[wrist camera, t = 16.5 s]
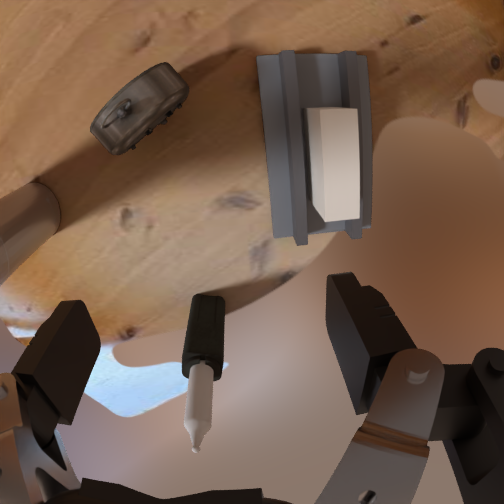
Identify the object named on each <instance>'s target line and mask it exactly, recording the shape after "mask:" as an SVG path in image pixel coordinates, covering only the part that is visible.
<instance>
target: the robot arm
mask: <svg viewBox="0 0 504 504" xmlns="http://www.w3.org/2000/svg"><path fill="white" fill-rule="evenodd" d="M59 224H60V208H59V204H58V202H57V199H56V198H55V196H54V194H53V193H52V192H51V190H50V189H48V188H47V187H46V186H44V185H42V184H40V183H29V184H27V185H25V186H23V187H21V188H19V189H17V190H15V191H13V192H12V193H10V194H8V195H6V196H4V197H3V198H1V199H0V286H1V285H2V284H3V283H4V282H5V281H6V280H7V278H8V277H9V276H10V275H11V274H12V273H13V272H14V271H15V270H16V269H17V268H18V267H19V266H20V265H21V264H22V263H23V262H24V261H25V260H27V259H28V258H29V257H30V256H31V255H32V254H33V253H34V252H35V251H36V250H37V249H38V248H39V247H40V246H41V245H43V244H44V243H45V242H46V241H47V240H48V239H49V238H50V237H51V236H52V235H53V234H55V232H56V231H57V229H58V227H59ZM326 326H327V331H328V334H329V338H330V340H331V343H332V346H333V349H334V351H335V354H336V357H337V360H338V363H339V366H340V368H341V371H342V374H343V377H344V379H345V383H346V386H347V388H348V392H349V394H350V398H351V400H352V403H353V406H354V409H355V412H356V415H359V414H364V413H368V414H367V416H366V418H365V421H364V422H363V424H362V426H361V427H359V429H358V430H357V432H356V433H355V435H354V437H353V439H352V441H351V443H350V444H349V446H348V448H347V450H346V452H345V453H344V456H343V457H342V459H341V461H340V463H339V464H338V466H337V468H336V470H335V471H334V473H333V475H332V476H331V478H330V480H329V481H328V483H327V484H326V486H325V488H324V489H323V491H322V493H321V494H320V496H319V497H318V499H317V500H316V502H315V503H314V504H411V502H412V500H413V498H414V495H415V493H416V490H417V488H418V485H419V482H420V479H421V477H422V474H423V471H424V468H425V466H426V463H427V460H428V456H429V451H430V448H429V446H427V443H428V441H439V440H442V441H443V444H444V447H445V449H446V452H447V455H448V457H449V460H450V463H451V466H452V468H453V471H454V474H455V477H456V480H457V483H458V486H459V489H460V492H461V496H462V498H463V502H464V504H504V350H501V349H498V348H486V349H483V350H481V351H480V352H478V353H477V354H476V356H475V358H474V360H473V362H472V364H455V365H454V364H452V365H448V364H442V362H441V361H440V359H439V358H438V357H437V356H435V355H434V354H432V353H431V352H429V351H426V350H423V349H417V347H416V345H415V344H414V342H413V341H412V339H411V337H410V336H409V334H408V333H407V331H406V329H405V328H404V326H403V325H402V323H401V322H400V320H399V318H398V317H397V316H395V312H394V311H393V309H392V308H391V307H390V306H389V303H388V302H387V300H386V299H385V297H384V296H383V294H382V293H380V292H379V291H377V290H376V289H374V288H373V287H371V286H362V287H361V285H360V283H359V282H358V280H357V279H356V277H355V275H354V274H353V273H352V272H346V273H339V274H331V275H328V276H327V288H326ZM29 344H30V345H28V346H27V348H26V349H25V351H24V353H23V354H22V356H21V357H20V359H19V361H18V362H17V364H16V366H15V367H14V369H13V371H12V372H11V374H10V373H1V374H0V504H292V503H289V502H286V501H281V500H277V499H271V498H264V496H263V493H262V489H261V488H256V489H241V490H212V491H207V492H202V493H198V494H193V495H187V496H182V497H176V498H170V499H159V498H155V497H153V496H150V495H147V494H144V493H141V492H138V491H135V490H133V489H131V488H128V487H125V486H123V485H120V484H115V483H109V482H103V481H97V480H92V479H87V478H82V483H80V482H79V480H78V479H77V477H76V475H75V473H74V471H73V468H72V466H71V463H70V461H69V458H68V455H67V453H66V450H65V447H64V445H63V442H62V439H61V436H60V434H59V432H58V431H57V430H56V429H55V428H56V426H57V423H59V424H65V425H71V424H72V422H73V419H74V416H75V413H76V410H77V408H78V405H79V402H80V400H81V397H82V395H83V392H84V389H85V387H86V384H87V382H88V379H89V377H90V374H91V372H92V369H93V367H94V365H95V362H96V360H97V357H98V355H99V353H100V348H101V342H100V337H99V334H98V332H97V330H96V328H95V326H94V323H93V321H92V319H91V317H90V315H89V312H88V310H87V308H86V305H85V304H84V302H83V301H81V300H70V301H61V302H60V303H59V304H58V306H57V307H56V309H55V310H54V312H53V313H52V315H51V316H50V318H48V319H47V320H46V321H45V322H44V323H43V324H42V325H41V326H40V327H39V329H38V330H37V332H36V334H35V337H33V338H32V340H31V341H30V343H29Z"/></svg>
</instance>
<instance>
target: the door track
mask: <svg viewBox="0 0 504 504" xmlns="http://www.w3.org/2000/svg"><path fill="white" fill-rule="evenodd" d="M256 62H257V71H258V80H259V89H260V98H261V108H262V117H263V127H264V137H265V147H266V158H267V168H268V179H269V190H270V201H271V213H272V225H273V236H274V238H282V237H291V236H293V237H294V239H295V242H296V244H297V246H299V245H307V244H308V235H309V234H318V233H327V232H336V231H346V232H347V234H348V235H349V236H350V238H351V239H360V238H362V229H363V228H371V213H372V123H371V103H370V89H369V76H368V65H367V56H365V55H357V54H356V51H343V52H341V53H339V54H295V53H294V50H284V51H281V52H280V53H279V54H278V55H263V56H256ZM320 107H340V108H354V109H357V113H358V131H359V160H360V217H359V219H349V220H340V221H330V222H325V221H324V220H323V218H322V217H321V215H320V214H319V213H318V211H317V210H316V209H315V207H314V206H313V204H312V203H311V202H310V200H309V185H308V169H307V154H306V140H305V127H304V116H303V108H320Z"/></svg>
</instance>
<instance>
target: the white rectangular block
mask: <svg viewBox="0 0 504 504" xmlns="http://www.w3.org/2000/svg"><path fill="white" fill-rule="evenodd" d="M303 116H304V127H305V140H306V154H307V169H308V185H309V200H310V202H311V203H312V204H313V206H314V207H315V209H316V210H317V211H318V213H319V214H320V215H321V217H322V218H323V220H324V221H325V222H330V221H340V220H349V219H359V217H360V160H359V131H358V113H357V109H354V108H340V107H320V108H303Z"/></svg>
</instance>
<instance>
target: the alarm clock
mask: <svg viewBox="0 0 504 504" xmlns="http://www.w3.org/2000/svg"><path fill="white" fill-rule="evenodd" d="M188 94H189V86H188V84H187V83H186V82H185V81H184V80H183V79H182V77H181V76H180V75H179V74H178V73H177V72H176V71H175V70H174V69H173V67H172V66H171V65H170V64H169V63H167V62H164V63H160V64H157V65H155V66H153V67H151V68H149V69H148V70H146V71H144V72H143V73H141V74H140V75H139V76H137V77H136V78H134V79H133V80H131V81H130V82H129V83H128V84H126V85H125V86H124V87H123V88H122V89H121V90H120V91H118V92H117V93H116V94H115V95H114V96H113V97H112V98H111V99H110V100H109V101H108V102H107V104H106V105H105V106H104V107H103V108H102V109H101V111H100V112H99V113H98V114H97V116H96V117H95V119H94V120H93V122H92V124H91V127H90V132H91V133H92V134H93V135H94V136H95V137H96V138H97V139H98V140H99V141H100V143H101V144H102V145H103V146H104V147H105V148H106V149H107V150H108V151H109V152H110V153H111V154H112V155H121V154H123V153H125V152H127V151H128V150H129V149H130V148H132V150H134V149H135V148H136V146H135V144H137V143H138V142H139V141H140V140H141V139H142V138H143V137H145V136H146V135H149V134H150V133H152V132H153V131H152V130H153V129H154V128H155V127H156V126H157V125H159V124H160V123H161V124H166V123H167V120H165V118H166V117H170V116H171V115H172V114H173V111H174V110H175V109H176V108H181V107H182V105H181V104H182V103H183V102H184V100H185V99H186V98H187V96H188Z"/></svg>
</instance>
